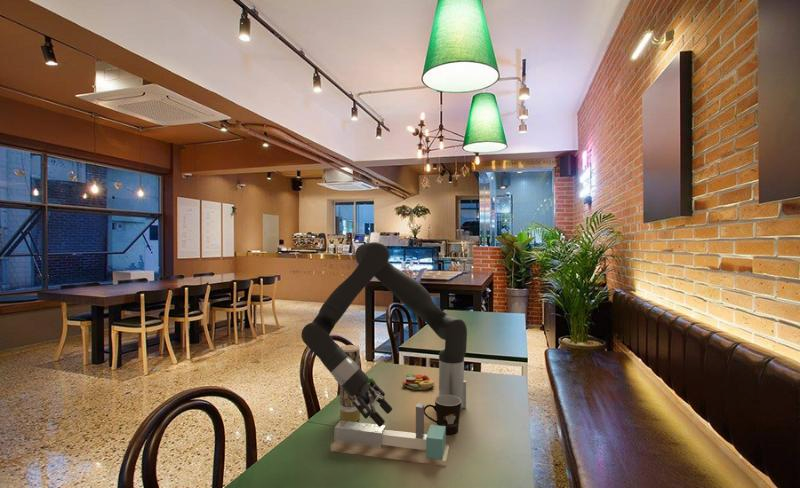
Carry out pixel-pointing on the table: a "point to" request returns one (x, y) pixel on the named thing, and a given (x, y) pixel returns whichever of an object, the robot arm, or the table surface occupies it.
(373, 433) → the metal sleeve
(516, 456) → the table surface
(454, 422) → the coffee mug
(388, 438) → the white bar
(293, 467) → the table surface
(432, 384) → the toy food set
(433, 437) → the teal socket
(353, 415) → the paper tube
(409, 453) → the track board
